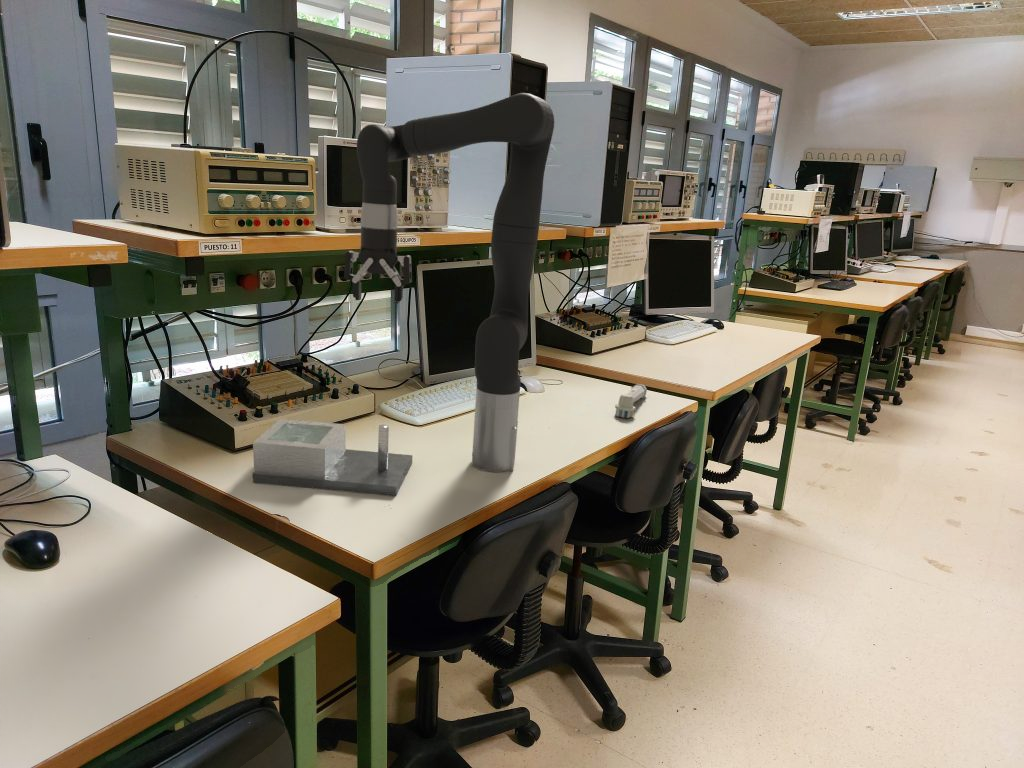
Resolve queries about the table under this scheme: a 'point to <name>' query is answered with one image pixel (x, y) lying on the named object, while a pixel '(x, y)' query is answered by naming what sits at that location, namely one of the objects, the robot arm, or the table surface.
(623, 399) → the grey handheld tool
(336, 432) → the grey recessed block
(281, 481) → the grey base with peg
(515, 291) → the robot arm
